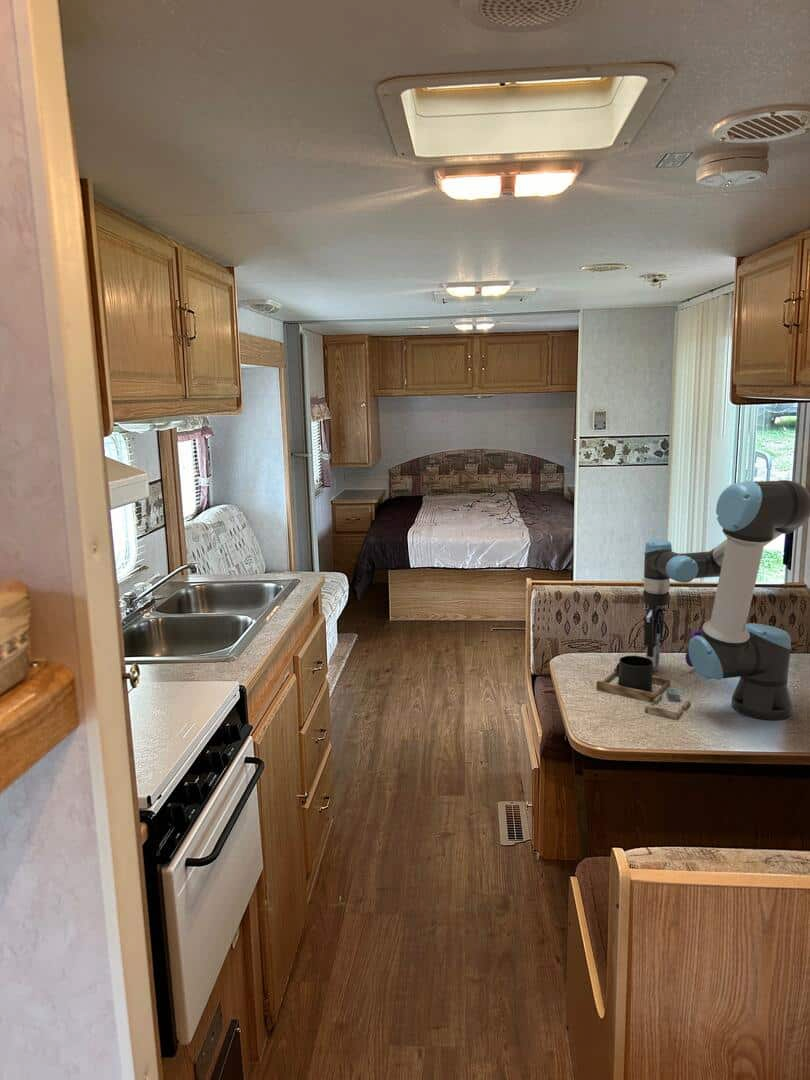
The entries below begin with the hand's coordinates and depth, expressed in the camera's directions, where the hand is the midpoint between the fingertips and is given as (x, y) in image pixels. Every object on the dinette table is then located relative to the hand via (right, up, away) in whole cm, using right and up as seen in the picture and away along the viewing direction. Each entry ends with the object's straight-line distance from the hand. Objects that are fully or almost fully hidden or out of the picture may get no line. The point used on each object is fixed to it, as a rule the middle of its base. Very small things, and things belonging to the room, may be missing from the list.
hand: (652, 664), depth 239 cm
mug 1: (-10, -5, -13) cm, 18 cm away
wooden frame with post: (-7, -4, -8) cm, 11 cm away
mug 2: (+17, -2, +3) cm, 17 cm away
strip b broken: (-3, -7, -26) cm, 27 cm away
